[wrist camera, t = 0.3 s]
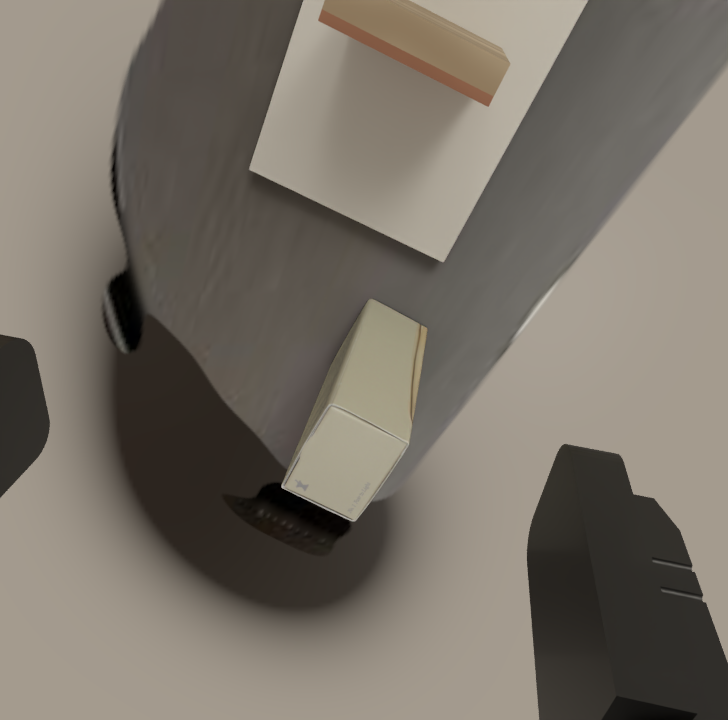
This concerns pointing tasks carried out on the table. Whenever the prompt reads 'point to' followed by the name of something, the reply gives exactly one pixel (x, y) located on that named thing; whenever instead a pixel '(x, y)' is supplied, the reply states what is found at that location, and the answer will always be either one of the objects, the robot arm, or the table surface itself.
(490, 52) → the birch tile
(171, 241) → the table surface
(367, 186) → the off-white board
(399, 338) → the skincare box
